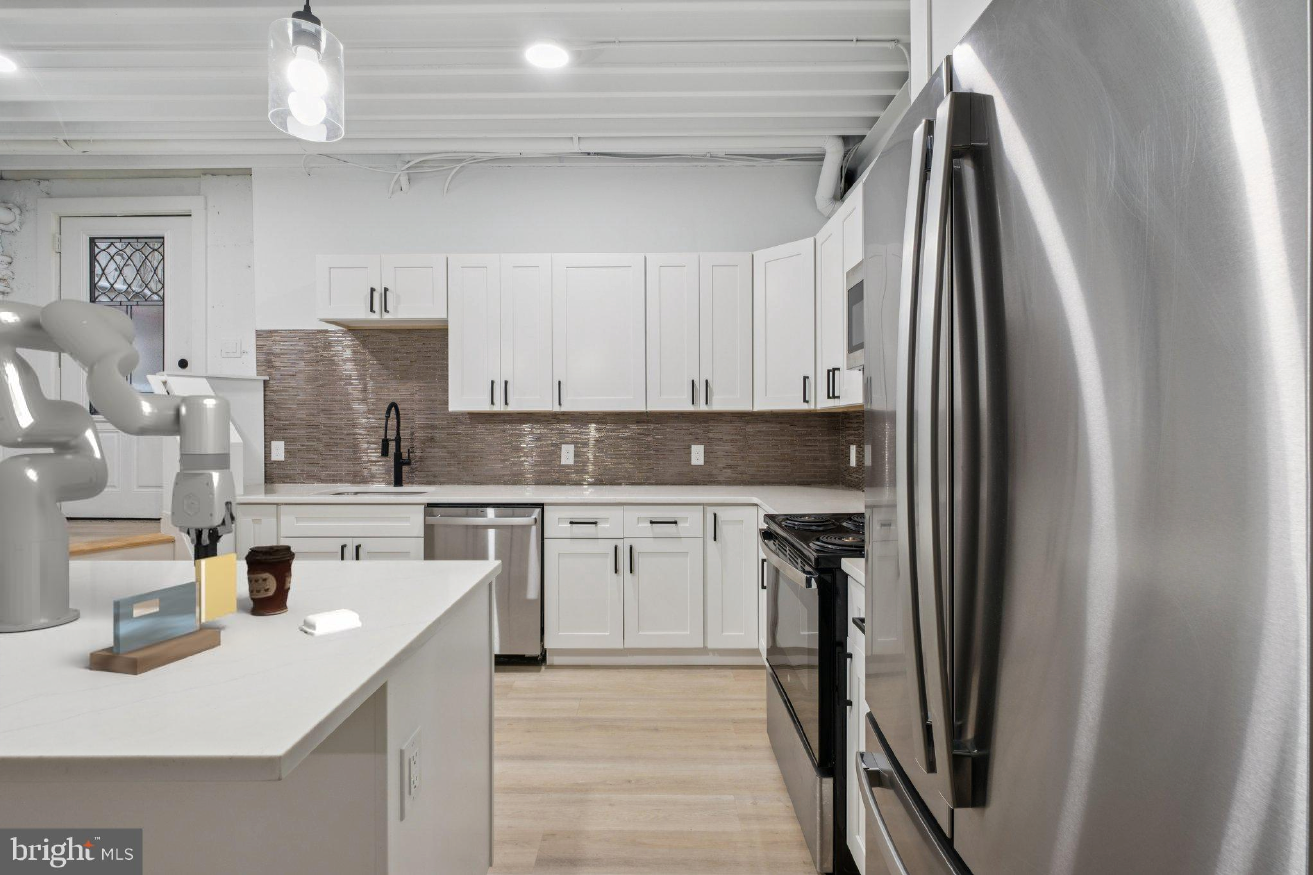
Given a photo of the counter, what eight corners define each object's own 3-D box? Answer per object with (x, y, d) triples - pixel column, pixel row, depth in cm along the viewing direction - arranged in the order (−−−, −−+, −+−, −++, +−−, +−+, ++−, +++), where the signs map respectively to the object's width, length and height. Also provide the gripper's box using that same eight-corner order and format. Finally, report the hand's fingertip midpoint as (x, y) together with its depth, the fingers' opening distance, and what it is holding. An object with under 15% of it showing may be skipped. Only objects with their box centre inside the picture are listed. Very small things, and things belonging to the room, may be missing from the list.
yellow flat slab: (195, 622, 112) (195, 560, 111) (230, 611, 118) (230, 553, 118) (201, 622, 111) (201, 560, 111) (236, 611, 118) (236, 553, 118)
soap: (313, 638, 115) (313, 622, 115) (298, 631, 120) (298, 615, 120) (364, 627, 122) (364, 612, 122) (348, 620, 126) (348, 605, 126)
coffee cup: (270, 619, 126) (270, 551, 126) (233, 616, 127) (233, 549, 127) (303, 607, 134) (303, 544, 134) (268, 605, 136) (268, 542, 136)
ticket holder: (89, 669, 99) (89, 599, 99) (177, 640, 113) (177, 579, 112) (136, 674, 97) (136, 603, 97) (220, 645, 110) (220, 582, 110)
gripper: (152, 464, 116) (152, 568, 117) (221, 465, 113) (221, 572, 113) (191, 462, 124) (191, 560, 124) (257, 463, 120) (257, 563, 120)
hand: (205, 565), depth 118 cm, fingers closed
